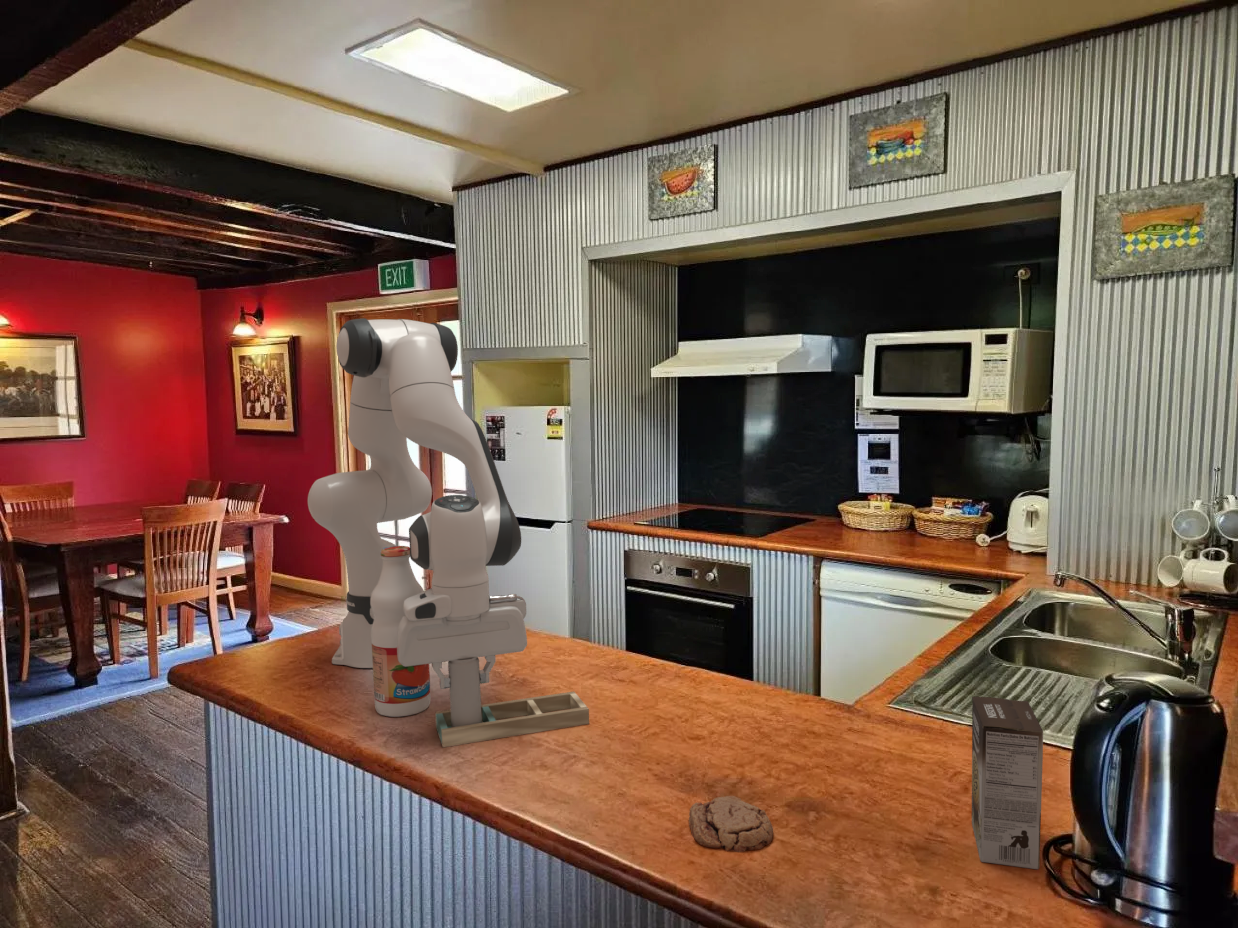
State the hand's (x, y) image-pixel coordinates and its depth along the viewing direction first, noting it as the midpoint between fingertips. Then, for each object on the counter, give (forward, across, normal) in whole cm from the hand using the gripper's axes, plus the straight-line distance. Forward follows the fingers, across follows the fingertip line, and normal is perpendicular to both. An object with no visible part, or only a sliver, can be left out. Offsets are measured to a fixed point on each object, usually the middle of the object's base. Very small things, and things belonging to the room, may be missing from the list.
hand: (464, 684), depth 132 cm
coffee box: (+8, -53, +57) cm, 78 cm away
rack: (+8, -7, 0) cm, 11 cm away
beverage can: (+8, 0, 0) cm, 8 cm away
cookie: (+8, -25, +42) cm, 50 cm away
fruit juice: (+8, +9, -15) cm, 19 cm away
